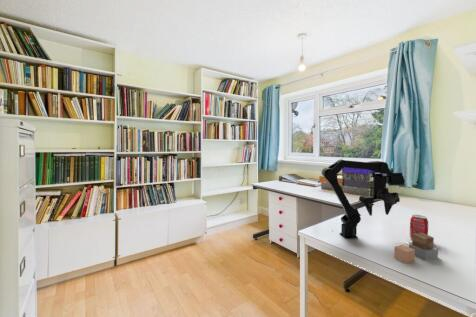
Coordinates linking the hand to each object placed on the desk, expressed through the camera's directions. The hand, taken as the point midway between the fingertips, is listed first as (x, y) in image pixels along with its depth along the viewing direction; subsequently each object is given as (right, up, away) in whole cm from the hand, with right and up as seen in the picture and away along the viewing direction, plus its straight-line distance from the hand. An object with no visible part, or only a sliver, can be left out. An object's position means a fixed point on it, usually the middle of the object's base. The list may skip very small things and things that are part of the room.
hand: (378, 215), depth 113 cm
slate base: (+8, -13, -17) cm, 23 cm away
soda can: (+18, -12, -3) cm, 22 cm away
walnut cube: (+8, -9, -18) cm, 21 cm away
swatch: (+12, -12, -9) cm, 20 cm away
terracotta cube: (-2, -14, -21) cm, 25 cm away
